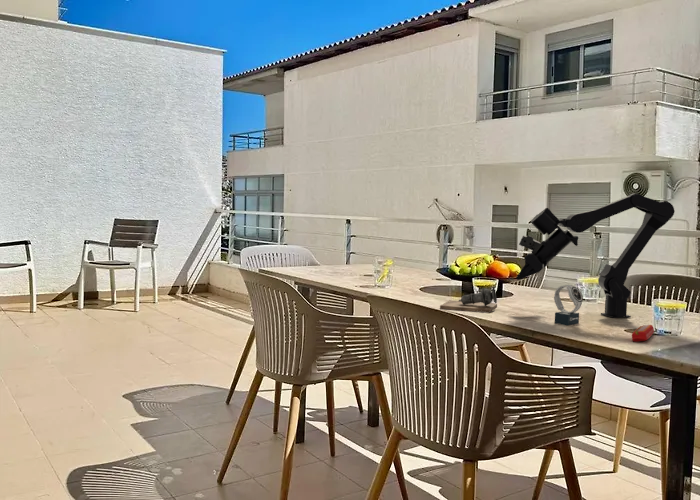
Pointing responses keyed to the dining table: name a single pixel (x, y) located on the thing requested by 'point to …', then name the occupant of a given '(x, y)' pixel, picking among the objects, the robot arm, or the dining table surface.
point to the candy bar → (642, 333)
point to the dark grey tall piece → (480, 297)
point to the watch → (563, 316)
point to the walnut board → (468, 306)
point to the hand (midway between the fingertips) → (517, 278)
